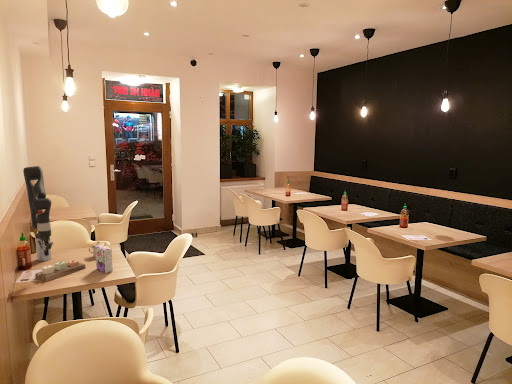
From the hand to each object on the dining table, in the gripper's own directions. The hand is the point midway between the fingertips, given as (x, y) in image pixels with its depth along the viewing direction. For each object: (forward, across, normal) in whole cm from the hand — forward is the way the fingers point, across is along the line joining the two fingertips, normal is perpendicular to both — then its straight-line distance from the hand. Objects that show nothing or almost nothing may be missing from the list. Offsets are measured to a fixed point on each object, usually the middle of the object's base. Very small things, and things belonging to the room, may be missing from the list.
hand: (46, 255), depth 248 cm
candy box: (+15, +21, +27) cm, 37 cm away
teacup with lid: (+15, -11, +46) cm, 50 cm away
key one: (+12, 0, 0) cm, 12 cm away
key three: (+14, 0, +18) cm, 23 cm away
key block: (+15, 0, +9) cm, 17 cm away
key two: (+12, 0, +9) cm, 15 cm away
